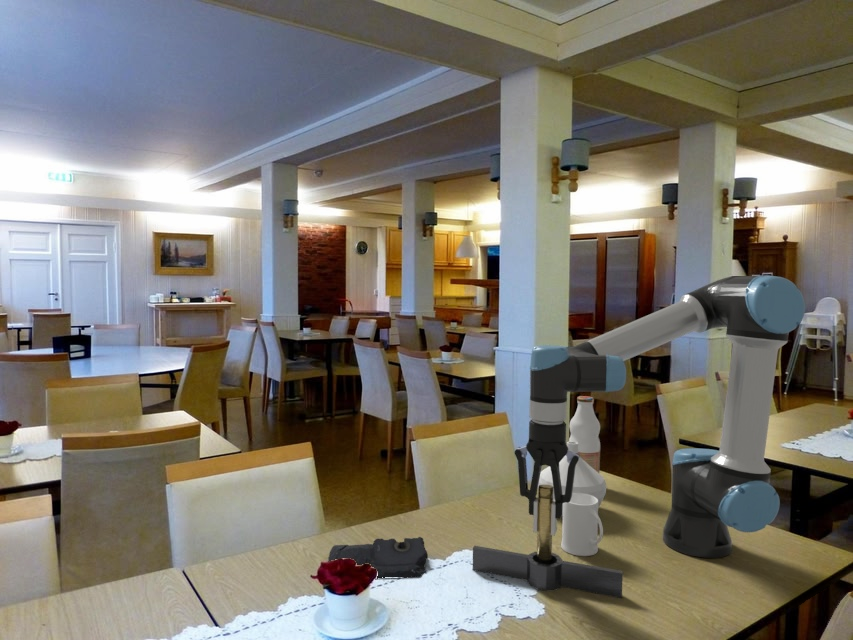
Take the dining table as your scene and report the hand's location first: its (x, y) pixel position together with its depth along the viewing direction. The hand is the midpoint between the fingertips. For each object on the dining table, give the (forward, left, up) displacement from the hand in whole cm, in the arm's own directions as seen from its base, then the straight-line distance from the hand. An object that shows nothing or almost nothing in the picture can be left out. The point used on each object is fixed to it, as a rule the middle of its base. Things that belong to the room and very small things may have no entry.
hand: (544, 531), depth 124 cm
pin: (0, 0, -6) cm, 6 cm away
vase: (0, -42, -11) cm, 44 cm away
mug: (-6, -18, -11) cm, 22 cm away
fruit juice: (-1, -63, -11) cm, 64 cm away
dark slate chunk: (+36, +5, -12) cm, 38 cm away
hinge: (0, 0, -11) cm, 11 cm away
